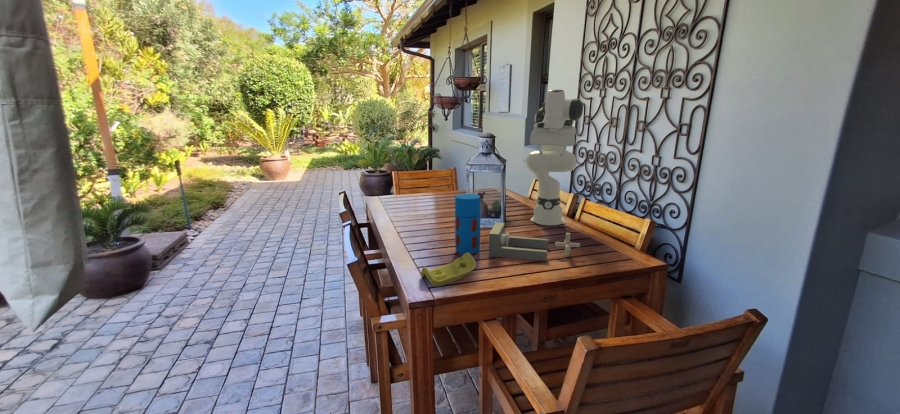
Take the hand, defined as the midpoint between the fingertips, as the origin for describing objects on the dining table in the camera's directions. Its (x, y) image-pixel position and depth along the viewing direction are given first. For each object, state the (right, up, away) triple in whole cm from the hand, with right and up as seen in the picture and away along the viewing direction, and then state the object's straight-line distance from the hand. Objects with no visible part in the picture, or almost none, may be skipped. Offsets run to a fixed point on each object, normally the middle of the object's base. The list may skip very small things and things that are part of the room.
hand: (550, 155), depth 185 cm
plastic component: (-47, -51, -36) cm, 78 cm away
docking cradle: (-17, -44, -10) cm, 48 cm away
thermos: (-39, -44, -10) cm, 60 cm away
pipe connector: (+3, -45, -16) cm, 48 cm away
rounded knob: (-25, -41, -8) cm, 49 cm away
